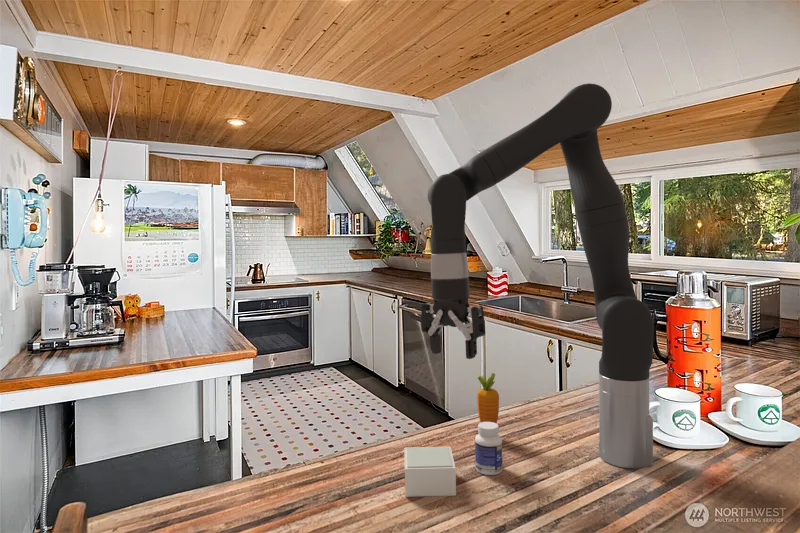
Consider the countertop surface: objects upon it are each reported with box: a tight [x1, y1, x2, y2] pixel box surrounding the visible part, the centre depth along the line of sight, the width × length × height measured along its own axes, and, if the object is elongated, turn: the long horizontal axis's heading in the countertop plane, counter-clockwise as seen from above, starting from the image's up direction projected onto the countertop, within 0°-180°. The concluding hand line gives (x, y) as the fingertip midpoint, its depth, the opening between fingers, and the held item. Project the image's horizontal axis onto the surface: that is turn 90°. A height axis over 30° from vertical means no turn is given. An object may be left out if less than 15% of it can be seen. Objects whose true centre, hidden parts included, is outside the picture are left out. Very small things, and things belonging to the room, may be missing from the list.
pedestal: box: [403, 446, 457, 498], centre depth 90 cm, size 9×9×5 cm
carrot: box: [476, 372, 500, 424], centre depth 110 cm, size 5×5×15 cm
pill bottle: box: [474, 422, 503, 476], centre depth 95 cm, size 5×5×9 cm
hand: (453, 355), depth 98 cm, fingers open, 8 cm apart
